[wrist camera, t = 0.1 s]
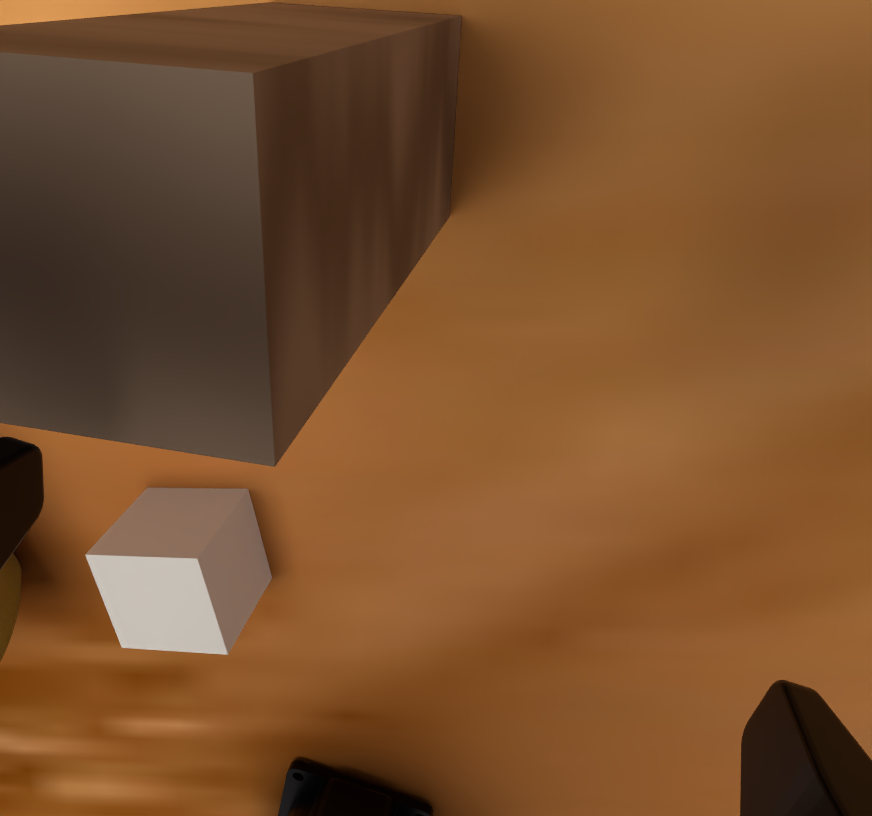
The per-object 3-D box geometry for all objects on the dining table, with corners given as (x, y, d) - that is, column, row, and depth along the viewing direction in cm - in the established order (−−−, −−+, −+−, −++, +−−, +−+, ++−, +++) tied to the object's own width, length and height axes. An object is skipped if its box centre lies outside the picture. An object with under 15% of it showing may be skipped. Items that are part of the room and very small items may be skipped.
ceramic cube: (272, 576, 30) (227, 654, 27) (177, 572, 31) (121, 647, 28) (249, 487, 28) (197, 558, 25) (148, 486, 29) (85, 554, 26)
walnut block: (449, 216, 22) (275, 466, 11) (278, 198, 23) (-50, 414, 12) (461, 15, 20) (252, 72, 8) (268, 2, 20) (-157, 38, 9)
